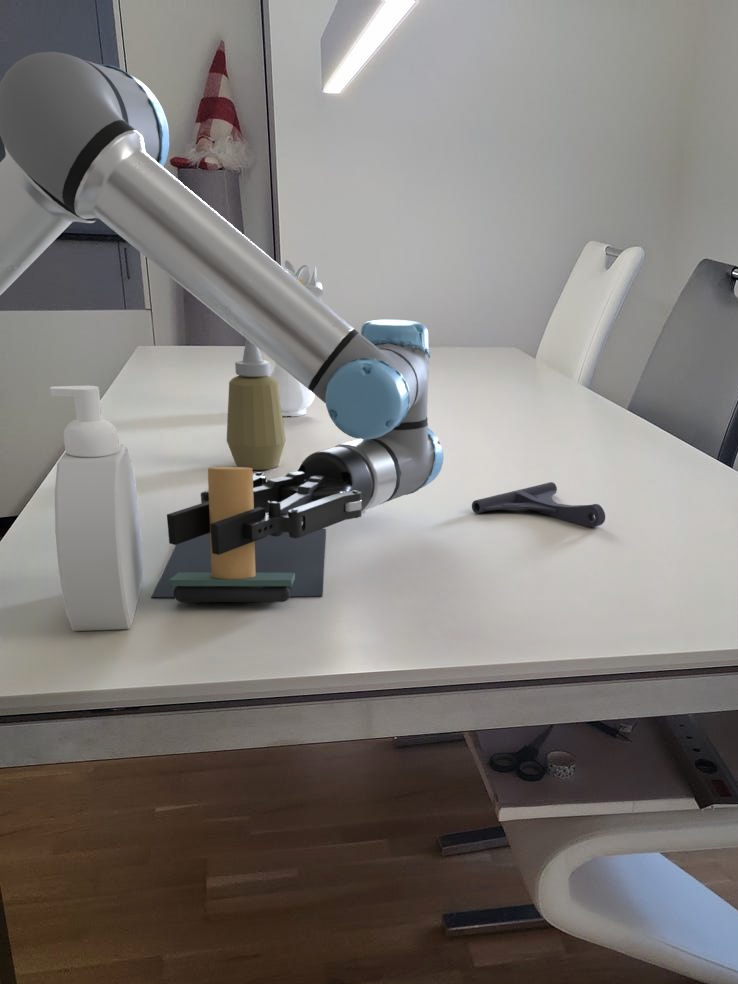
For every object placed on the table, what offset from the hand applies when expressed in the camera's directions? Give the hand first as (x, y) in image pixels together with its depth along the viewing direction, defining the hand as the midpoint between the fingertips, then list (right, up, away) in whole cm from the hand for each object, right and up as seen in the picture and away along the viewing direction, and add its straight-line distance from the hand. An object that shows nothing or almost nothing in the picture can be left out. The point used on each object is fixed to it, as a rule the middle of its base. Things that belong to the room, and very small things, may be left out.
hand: (193, 534), depth 91 cm
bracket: (+35, +6, +37) cm, 51 cm away
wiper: (+2, -6, +6) cm, 8 cm away
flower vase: (-8, +30, +89) cm, 95 cm away
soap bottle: (-9, -7, +4) cm, 12 cm away
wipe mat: (+1, -1, +17) cm, 17 cm away
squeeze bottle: (-6, +15, +54) cm, 57 cm away
